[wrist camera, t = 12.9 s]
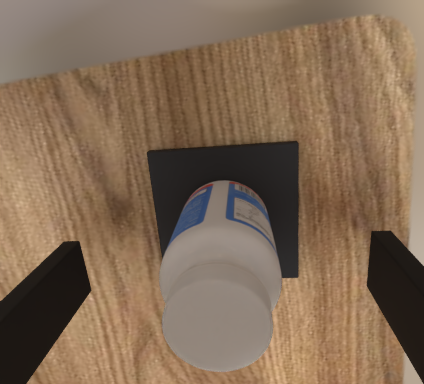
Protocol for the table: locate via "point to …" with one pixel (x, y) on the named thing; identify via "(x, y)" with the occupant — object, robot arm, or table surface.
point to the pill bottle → (220, 279)
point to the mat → (238, 172)
